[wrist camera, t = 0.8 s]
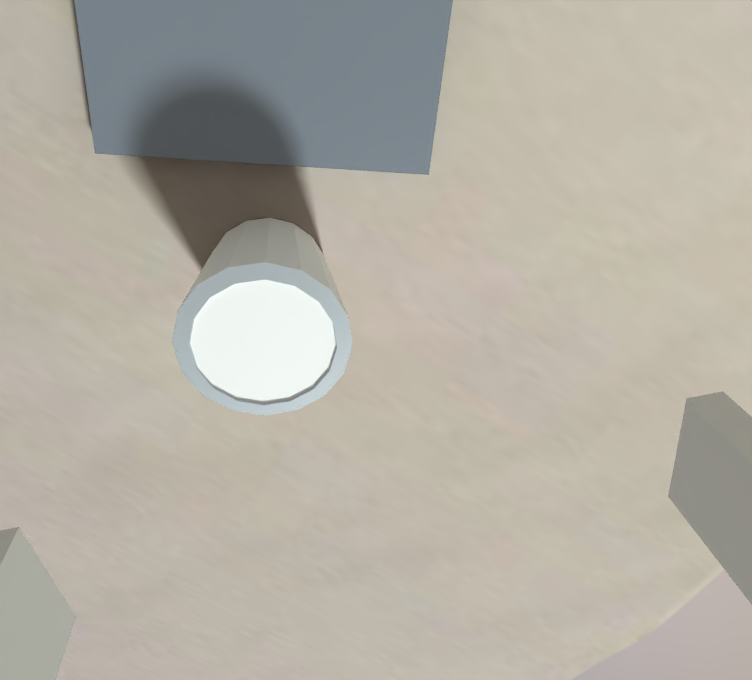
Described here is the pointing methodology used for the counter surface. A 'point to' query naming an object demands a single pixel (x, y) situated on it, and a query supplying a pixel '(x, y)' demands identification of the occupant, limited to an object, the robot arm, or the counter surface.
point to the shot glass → (263, 321)
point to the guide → (266, 80)
